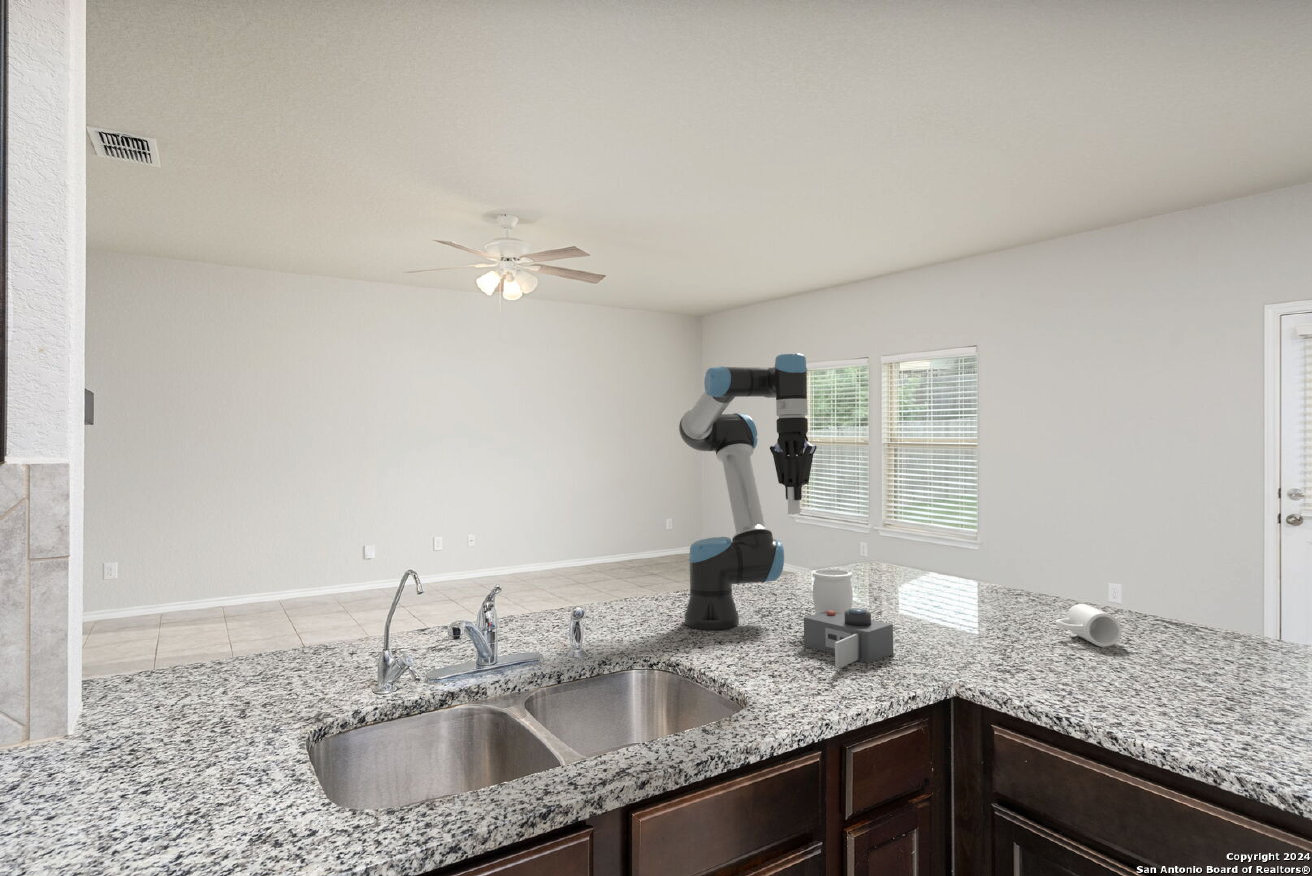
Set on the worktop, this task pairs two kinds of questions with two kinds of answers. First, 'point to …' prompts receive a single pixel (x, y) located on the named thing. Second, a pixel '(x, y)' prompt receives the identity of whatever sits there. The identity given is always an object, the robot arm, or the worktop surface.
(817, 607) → the jar
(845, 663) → the side door
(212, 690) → the worktop surface
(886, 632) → the camera body
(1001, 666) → the worktop surface
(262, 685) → the worktop surface
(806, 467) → the robot arm
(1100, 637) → the mug
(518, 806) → the worktop surface
